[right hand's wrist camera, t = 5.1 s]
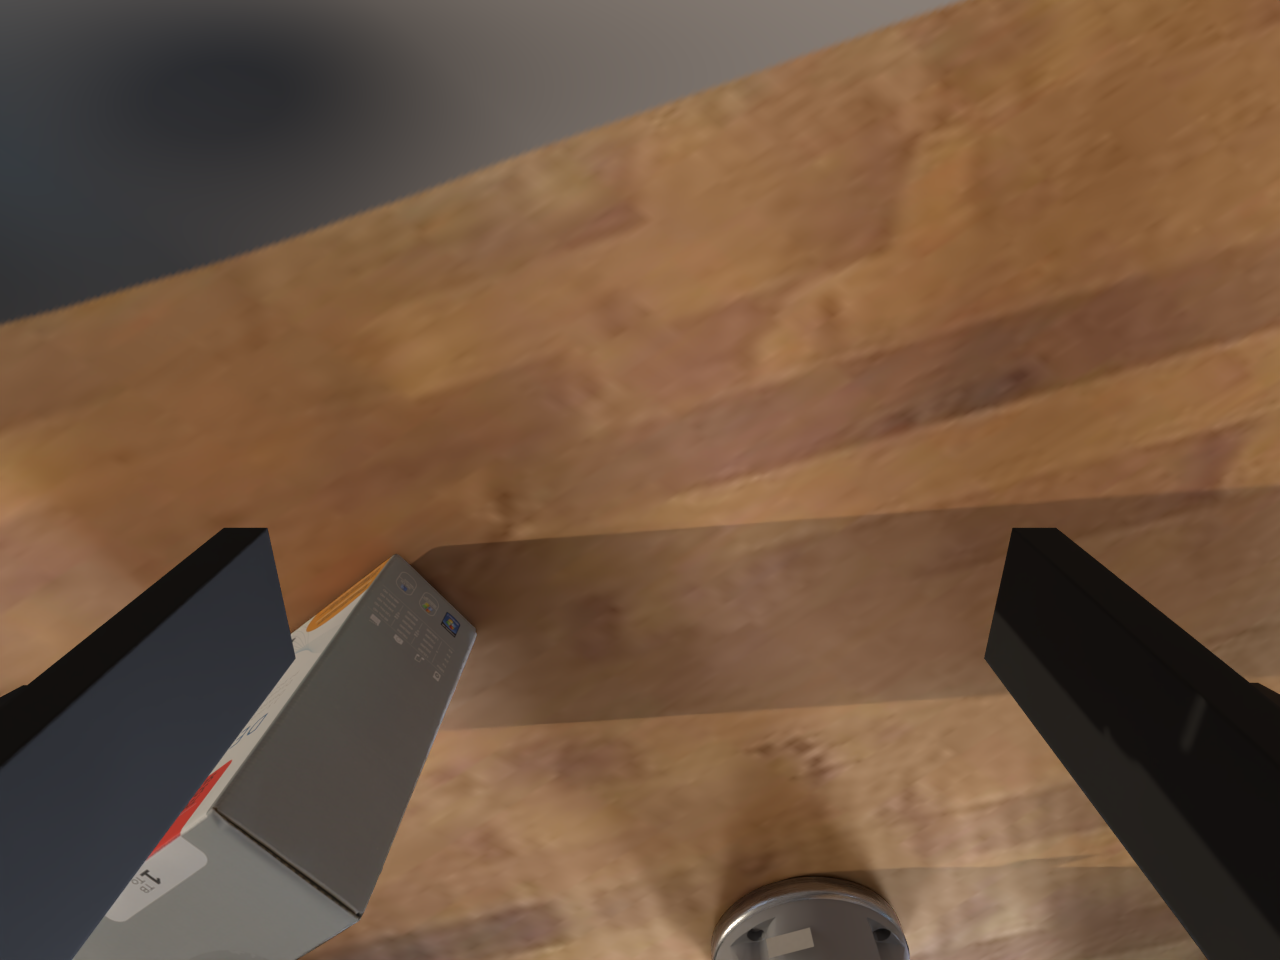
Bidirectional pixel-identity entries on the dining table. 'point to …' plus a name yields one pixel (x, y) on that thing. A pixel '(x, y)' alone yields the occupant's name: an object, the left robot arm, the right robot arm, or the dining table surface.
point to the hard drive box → (303, 788)
